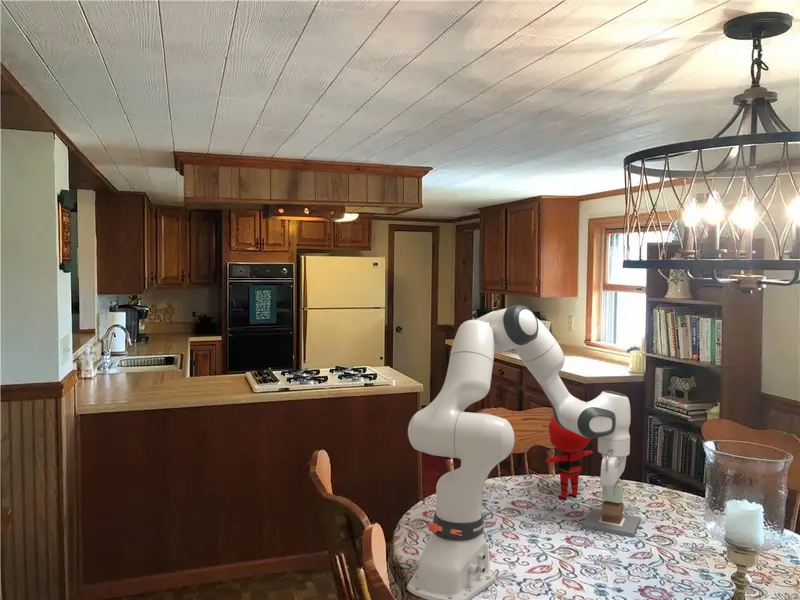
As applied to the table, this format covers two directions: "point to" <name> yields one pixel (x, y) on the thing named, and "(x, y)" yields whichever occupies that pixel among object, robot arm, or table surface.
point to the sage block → (617, 493)
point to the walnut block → (612, 512)
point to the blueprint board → (625, 527)
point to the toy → (567, 456)
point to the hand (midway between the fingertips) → (612, 493)
